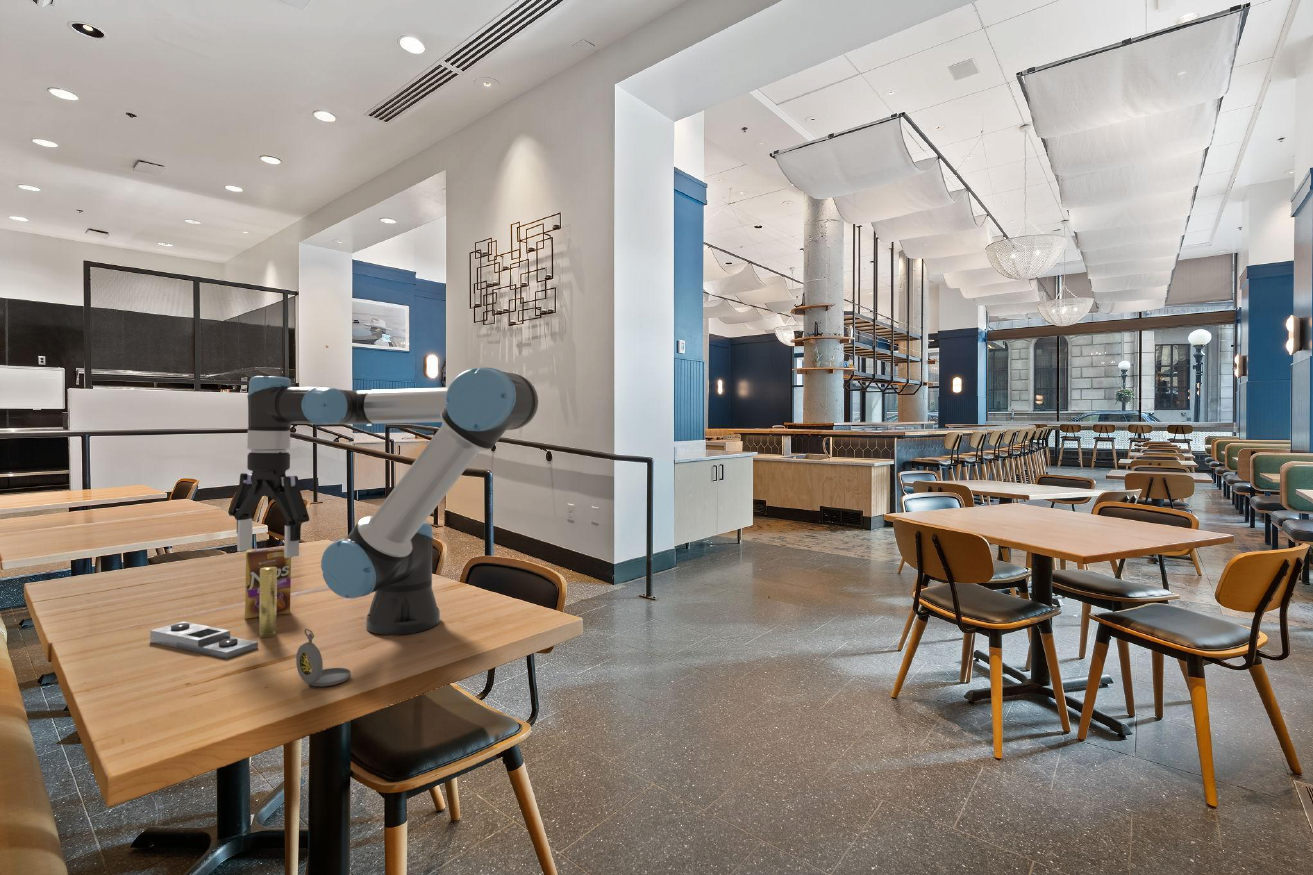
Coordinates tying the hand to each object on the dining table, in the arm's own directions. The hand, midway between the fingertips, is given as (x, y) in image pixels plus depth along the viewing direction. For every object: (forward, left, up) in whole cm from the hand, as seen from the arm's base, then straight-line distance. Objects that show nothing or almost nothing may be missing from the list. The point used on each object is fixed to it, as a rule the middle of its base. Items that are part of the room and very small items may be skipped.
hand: (267, 553), depth 130 cm
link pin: (0, 0, -17) cm, 17 cm away
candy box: (+13, -10, -17) cm, 24 cm away
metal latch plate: (+6, +9, -17) cm, 20 cm away
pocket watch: (-30, +13, -17) cm, 37 cm away
